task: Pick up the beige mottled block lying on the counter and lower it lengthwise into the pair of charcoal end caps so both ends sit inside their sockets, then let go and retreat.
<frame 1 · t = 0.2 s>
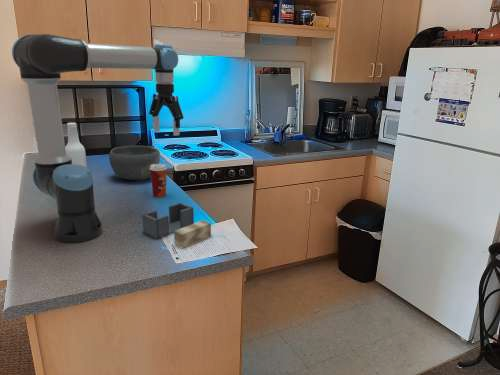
hand: (166, 133, 168), 28 cm above the worktop, fingers open, 13 cm apart
end caps: (169, 228, 139), on the worktop
bowl: (136, 178, 198), on the worktop
beige mottled block: (193, 240, 132), on the worktop
paper cup: (159, 195, 174), on the worktop
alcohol: (78, 186, 182), on the worktop
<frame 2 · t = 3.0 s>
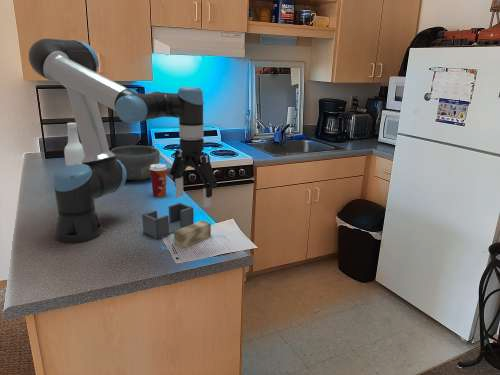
hand: (193, 201, 127), 14 cm above the worktop, fingers open, 13 cm apart
nothing on the worktop moved.
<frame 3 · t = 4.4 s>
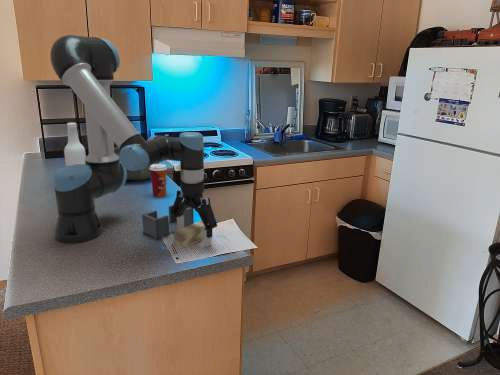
hand: (193, 239, 131), 0 cm above the worktop, fingers open, 13 cm apart
nothing on the worktop moved.
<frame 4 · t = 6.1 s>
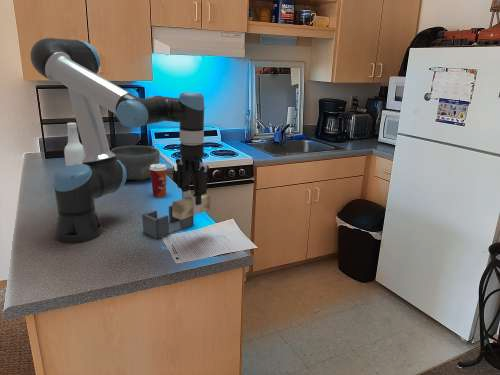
hand: (191, 211, 128), 10 cm above the worktop, fingers closed on beige mottled block, 4 cm apart
beige mottled block: (191, 212, 129), point 10 cm above the worktop, touching gripper
everything else where it was.
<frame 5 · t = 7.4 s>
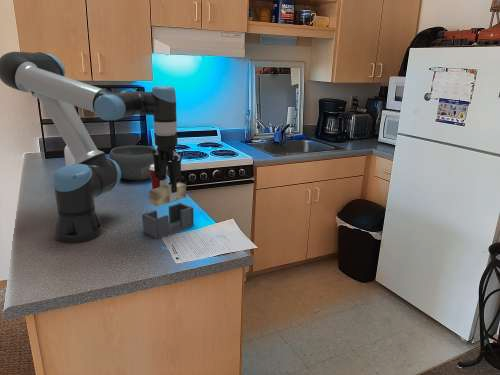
hand: (168, 199, 136), 12 cm above the worktop, fingers closed on beige mottled block, 4 cm apart
beige mottled block: (168, 200, 136), point 11 cm above the worktop, touching gripper
everything else where it was.
when the fingers open (1 cm above the worktop, at t = 9.1 s): beige mottled block stays where it is, resting on end caps.
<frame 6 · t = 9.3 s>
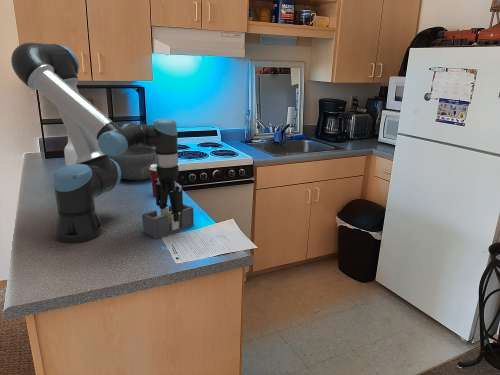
hand: (170, 227, 139), 1 cm above the worktop, fingers open, 5 cm apart
beige mottled block: (169, 227, 139), resting on end caps, touching gripper
everything else where it was.
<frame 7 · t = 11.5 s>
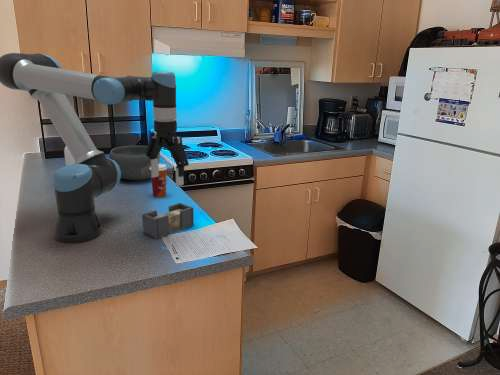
hand: (167, 181, 134), 18 cm above the worktop, fingers open, 13 cm apart
beige mottled block: (169, 227, 139), resting on end caps
everything else where it was.
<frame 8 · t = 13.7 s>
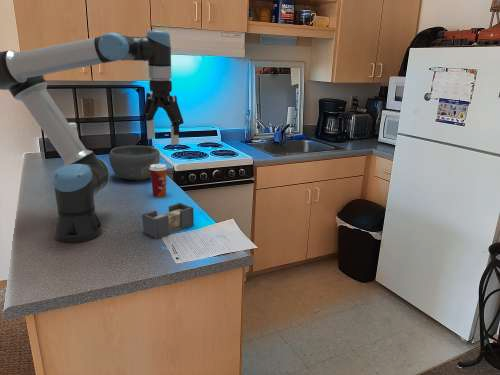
hand: (162, 141, 137), 31 cm above the worktop, fingers open, 13 cm apart
nothing on the worktop moved.
at the end: beige mottled block 0.2 cm off-centre on the end caps, point 0.5 cm above the end caps's base; the gripper is holding nothing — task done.
